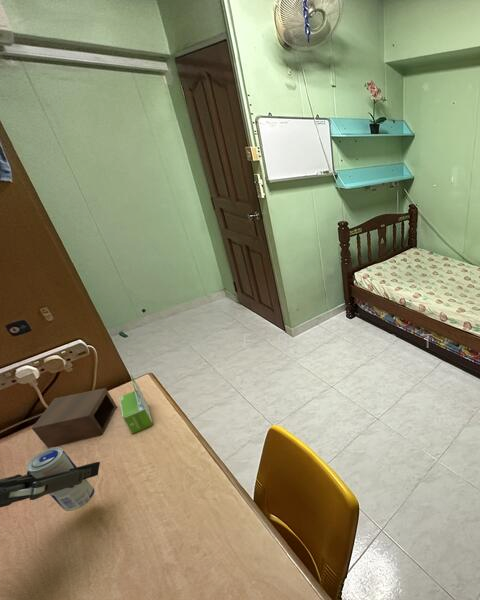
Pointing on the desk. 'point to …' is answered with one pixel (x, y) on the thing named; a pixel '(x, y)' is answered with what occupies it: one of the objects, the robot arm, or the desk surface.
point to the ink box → (135, 410)
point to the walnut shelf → (75, 417)
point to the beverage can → (58, 463)
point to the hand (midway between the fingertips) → (82, 469)
